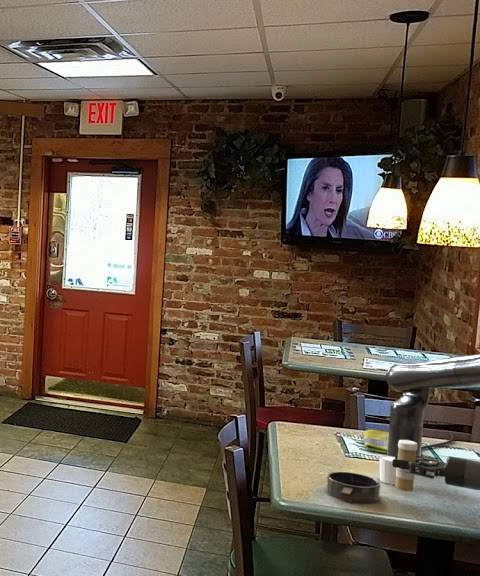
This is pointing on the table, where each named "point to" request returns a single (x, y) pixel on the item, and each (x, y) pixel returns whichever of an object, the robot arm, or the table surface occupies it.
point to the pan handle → (347, 494)
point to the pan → (354, 486)
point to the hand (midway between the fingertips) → (394, 460)
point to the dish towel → (376, 440)
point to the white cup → (387, 470)
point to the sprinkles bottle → (408, 454)
